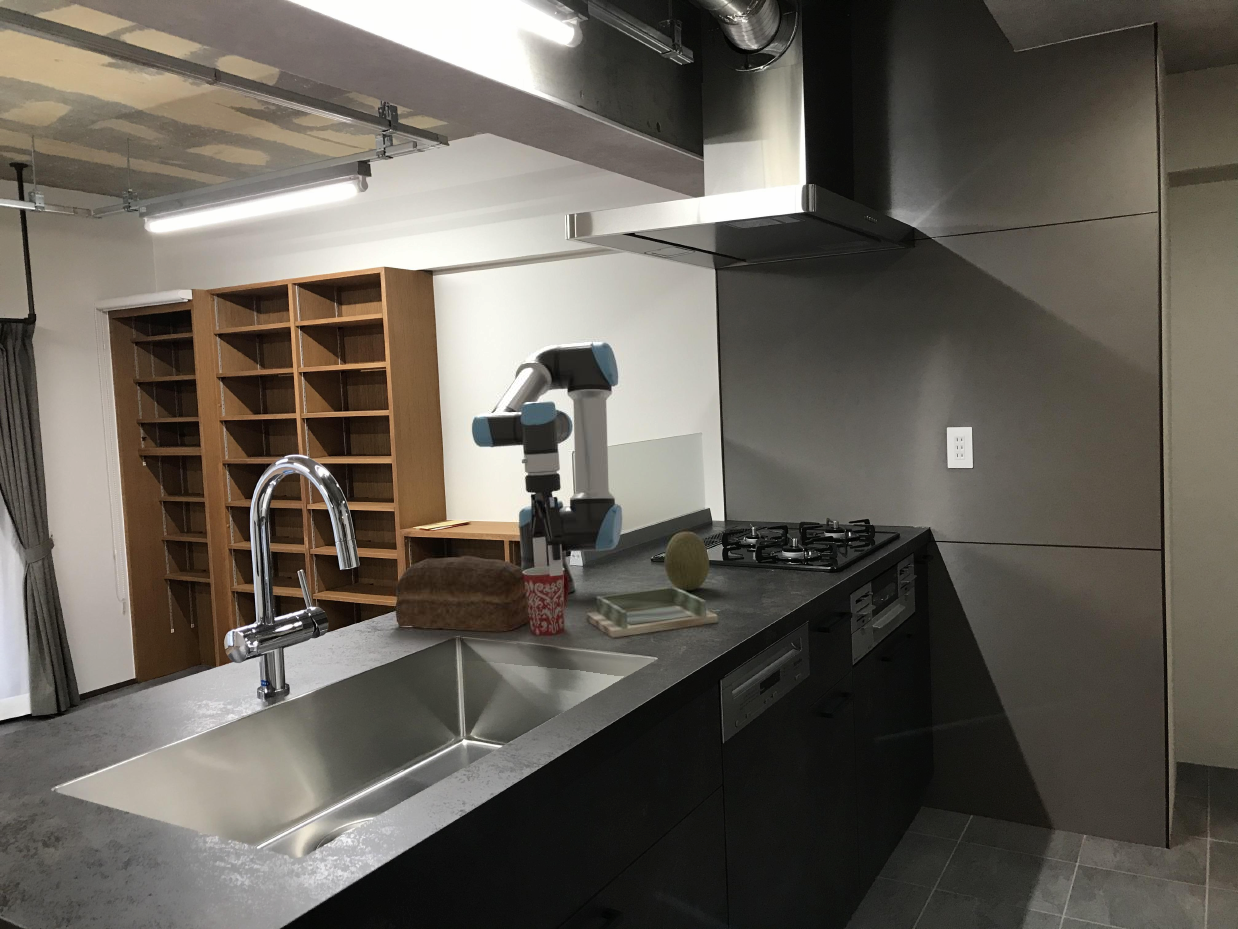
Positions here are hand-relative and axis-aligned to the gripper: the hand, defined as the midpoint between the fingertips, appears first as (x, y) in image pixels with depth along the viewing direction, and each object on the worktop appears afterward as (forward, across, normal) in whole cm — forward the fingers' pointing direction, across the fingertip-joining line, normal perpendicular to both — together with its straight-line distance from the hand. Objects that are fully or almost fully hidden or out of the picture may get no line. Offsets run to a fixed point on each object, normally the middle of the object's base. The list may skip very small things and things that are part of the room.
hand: (548, 571), depth 206 cm
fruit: (+13, -22, +41) cm, 48 cm away
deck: (+13, +4, +21) cm, 25 cm away
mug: (+13, 0, 0) cm, 13 cm away
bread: (+13, -18, -16) cm, 27 cm away
